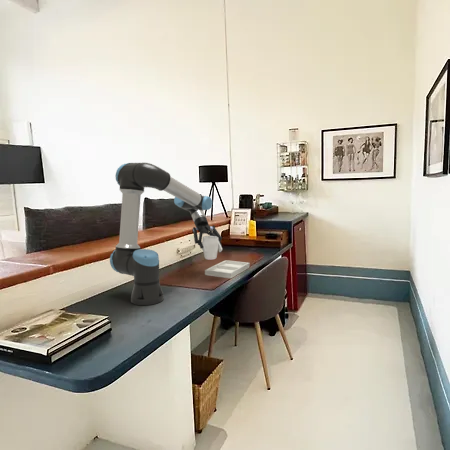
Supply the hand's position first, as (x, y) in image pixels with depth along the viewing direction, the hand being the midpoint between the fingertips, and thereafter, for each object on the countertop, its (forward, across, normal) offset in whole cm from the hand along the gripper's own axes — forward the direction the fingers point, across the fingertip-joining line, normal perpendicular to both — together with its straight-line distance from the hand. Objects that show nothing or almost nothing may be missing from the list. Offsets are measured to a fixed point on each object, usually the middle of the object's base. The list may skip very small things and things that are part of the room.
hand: (213, 251), depth 195 cm
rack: (+2, -18, -22) cm, 29 cm away
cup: (+1, 0, -6) cm, 6 cm away
